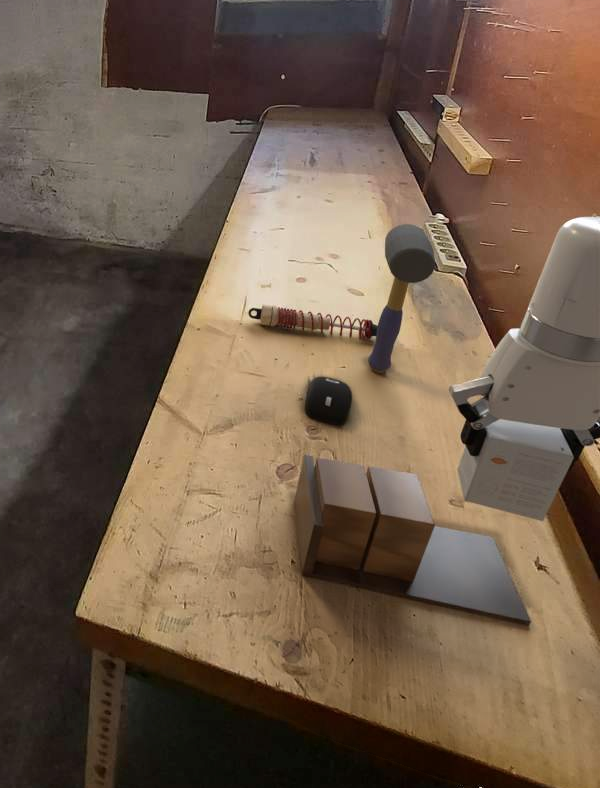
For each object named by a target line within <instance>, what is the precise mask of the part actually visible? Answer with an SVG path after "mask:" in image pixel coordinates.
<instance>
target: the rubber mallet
mask: <svg viewBox="0 0 600 788" xmlns="http://www.w3.org/2000/svg"><path fill="white" fill-rule="evenodd" d="M384 258H385V260H386V264H387V266H388V268H389V271H390V273H391V275H392V276H393V281H392V284H391V289H390V293H389V296H388V299H387V302H386V305H385V306H384V307H383V309H382V312H381V314H380V316H379V319H378V323H377V335H376V336H375V340H374V344H373V348H372V352H371V353H370V355H369V356H368V359H367V363H368V365H369V367H370V369H371V370H372V371H373V372H374V373H378V374H379V373H380V374H384V373H386V372H387V371H388V370H390V368H391V366H392V354H393V350H394V346H395V344H396V341H397V339H398V336H399V334H400V331H401V327H402V321H403V315H404V314H403V307H404V303H405V299H406V296H407V292H408V288H409V284H417V283H421V282H423V281H425V280H427V279H429V277H430V276H432V275H433V273H434V271H435V268H436V257H435V251H434V248H433V245H432V242H431V241H430V239H429V237H428V235H427V233H426V232H425V231H424V230H423V228H421V227H419V226H418V225H414V224H410V223H405V224H400V225H396V226H395V227H393V228H391V229H390V230H389V231H388V232H387V234H386V236H385V239H384Z"/></svg>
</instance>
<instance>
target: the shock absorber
mask: <svg viewBox="0 0 600 788" xmlns="http://www.w3.org/2000/svg"><path fill="white" fill-rule="evenodd" d="M247 312H248V316H249V318H251V319H254V320H259V323H260V325H263V326H268V327H269V326H270V327H275V326H277V327H281V328H282V327H283V328H287V329H289V328H290V329H296V327H297V328H301V329H302V331H305V329H310V330H311V333H313V332H314V331H317V330H320V333H321V334H323V333H324V330H325V331H328V330H330V335H333V330H334V327H335V328H340V332H339V336H343V329H347V330H348V329H349V338H352V335H353V330H356V331H358V338H359V339H363V340H367V341H368V340H370V339H371V338H372V337H376V335H377V326H378V324H374V323H373V321H372V319H365V318H363V319H362V320H361V319H360V318H359V317H357V318H355V319H354V320H353V321H352V319H351V318H350V316H346V317H345V318H344V319H343V321H342V317H341V316H340V315H339V314H338V315H336V316H335V317H334V319H333V317H332V314H330V313H327V314H326V316H323V314H322V313H321V312H317V314H313V312H311V310H310V311H308V312H307V313H305V312H304V311H303V310H301V309H300V310H299V311H297V309H292V308H291V309H290V308H287V307H284V308H283V307H280V306H277V305H270V304H262V306H261V308H260V307H259V308H258V307H252V308H250V309H248V311H247ZM252 312H256V314H255V315H252ZM337 318H338V319H339V323H336V320H337ZM346 320H348V321H349V324H345V322H346ZM356 321H358V324H359V326H356V325H355V323H356ZM362 325H363V326H362Z"/></svg>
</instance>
